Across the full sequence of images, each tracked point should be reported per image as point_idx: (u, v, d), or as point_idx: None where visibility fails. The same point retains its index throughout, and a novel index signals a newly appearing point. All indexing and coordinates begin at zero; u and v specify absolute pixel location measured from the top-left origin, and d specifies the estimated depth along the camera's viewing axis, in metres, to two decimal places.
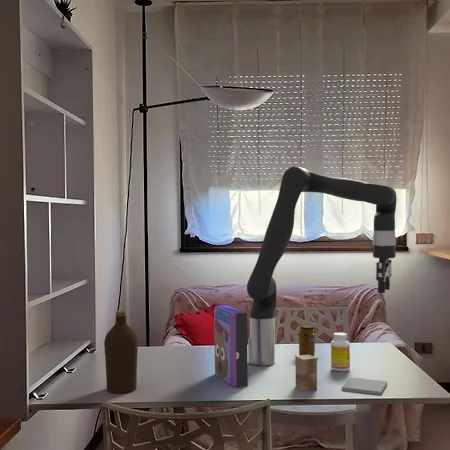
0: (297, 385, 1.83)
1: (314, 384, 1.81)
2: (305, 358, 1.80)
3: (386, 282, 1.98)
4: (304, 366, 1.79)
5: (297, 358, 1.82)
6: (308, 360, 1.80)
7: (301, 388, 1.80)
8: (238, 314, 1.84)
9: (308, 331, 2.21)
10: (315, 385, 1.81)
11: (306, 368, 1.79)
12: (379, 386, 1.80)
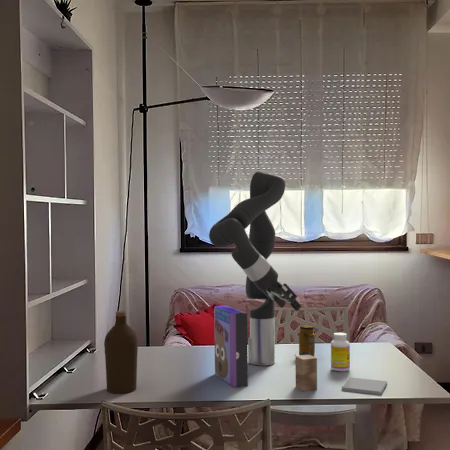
0: (297, 385, 1.83)
1: (314, 384, 1.81)
2: (305, 358, 1.80)
3: None
4: (304, 366, 1.79)
5: (297, 358, 1.82)
6: (308, 360, 1.80)
7: (301, 388, 1.80)
8: (238, 314, 1.83)
9: (308, 331, 2.21)
10: (315, 385, 1.81)
11: (306, 368, 1.79)
12: (379, 386, 1.80)
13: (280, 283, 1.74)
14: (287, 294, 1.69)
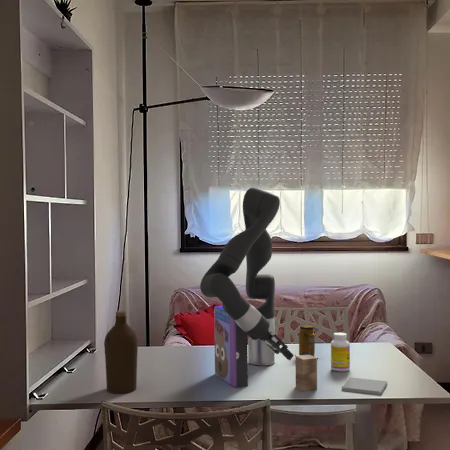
0: (297, 385, 1.83)
1: (314, 384, 1.81)
2: (305, 358, 1.80)
3: None
4: (304, 366, 1.79)
5: (297, 358, 1.82)
6: (308, 360, 1.80)
7: (301, 388, 1.80)
8: None
9: (308, 331, 2.21)
10: (315, 385, 1.81)
11: (306, 368, 1.79)
12: (379, 386, 1.80)
13: (272, 332, 1.76)
14: (277, 345, 1.71)
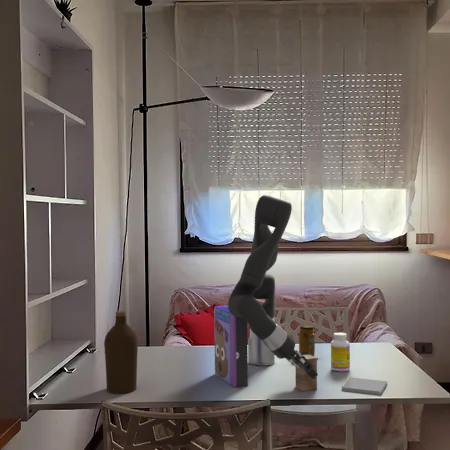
0: (297, 385, 1.83)
1: (314, 384, 1.81)
2: None
3: None
4: None
5: None
6: (308, 360, 1.80)
7: (301, 388, 1.80)
8: None
9: (308, 331, 2.21)
10: (315, 385, 1.81)
11: None
12: (379, 386, 1.80)
13: (298, 352, 1.79)
14: (304, 366, 1.75)
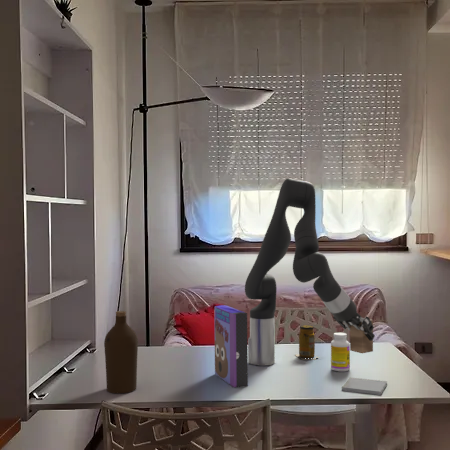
0: (353, 348, 1.81)
1: (370, 346, 1.80)
2: None
3: None
4: (363, 328, 1.78)
5: None
6: None
7: (359, 350, 1.79)
8: (238, 314, 1.84)
9: (308, 331, 2.21)
10: (372, 347, 1.81)
11: None
12: (379, 386, 1.80)
13: None
14: (368, 327, 1.74)
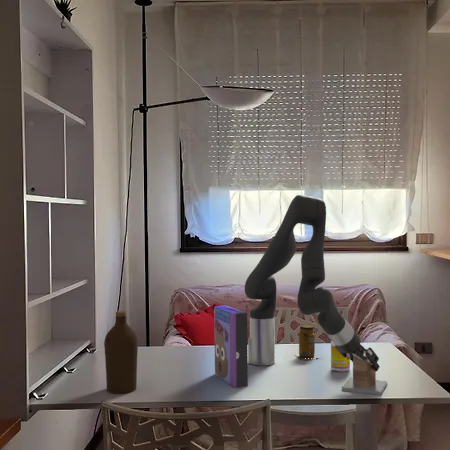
0: (356, 382, 1.82)
1: (373, 379, 1.81)
2: None
3: None
4: (366, 362, 1.79)
5: None
6: None
7: (362, 384, 1.80)
8: (238, 314, 1.84)
9: (308, 331, 2.21)
10: (374, 380, 1.82)
11: (367, 364, 1.80)
12: (379, 386, 1.80)
13: None
14: (372, 358, 1.74)
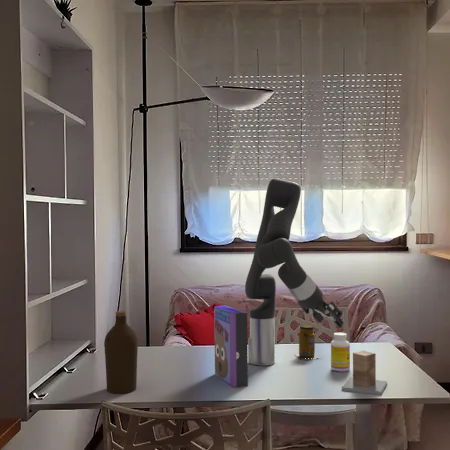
0: (356, 382, 1.82)
1: (373, 379, 1.81)
2: (365, 354, 1.81)
3: None
4: (366, 362, 1.79)
5: (356, 355, 1.82)
6: (369, 356, 1.80)
7: (362, 384, 1.80)
8: (238, 314, 1.84)
9: (308, 331, 2.21)
10: (374, 380, 1.82)
11: (367, 364, 1.80)
12: (379, 386, 1.80)
13: None
14: (334, 313, 1.69)
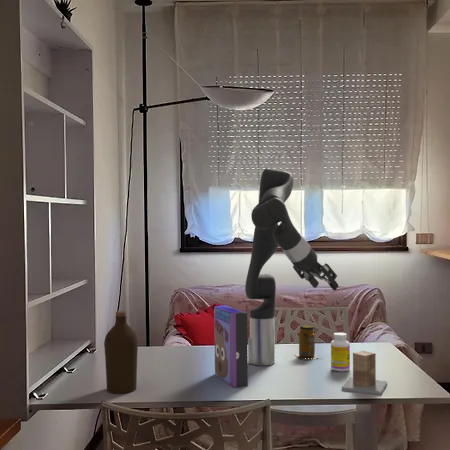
0: (356, 382, 1.82)
1: (373, 379, 1.81)
2: (365, 354, 1.81)
3: None
4: (366, 362, 1.79)
5: (356, 355, 1.82)
6: (369, 356, 1.80)
7: (362, 384, 1.80)
8: (238, 314, 1.84)
9: (308, 331, 2.21)
10: (374, 380, 1.82)
11: (367, 364, 1.80)
12: (379, 386, 1.80)
13: None
14: (329, 274, 1.70)
